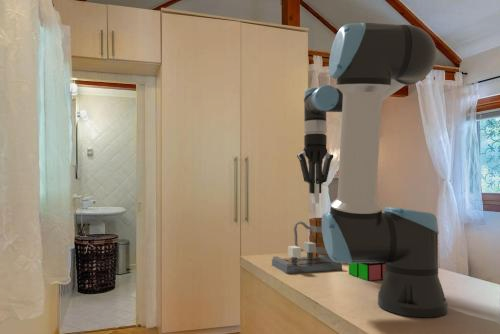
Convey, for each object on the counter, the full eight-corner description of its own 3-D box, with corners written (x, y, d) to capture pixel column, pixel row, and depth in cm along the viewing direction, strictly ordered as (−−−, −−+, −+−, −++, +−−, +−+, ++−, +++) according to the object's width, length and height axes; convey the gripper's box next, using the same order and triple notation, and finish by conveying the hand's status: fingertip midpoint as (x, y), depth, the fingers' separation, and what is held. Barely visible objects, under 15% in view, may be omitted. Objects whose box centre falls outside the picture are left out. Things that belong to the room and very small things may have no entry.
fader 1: (300, 264, 130) (300, 247, 130) (292, 264, 129) (293, 248, 130) (295, 261, 134) (295, 245, 135) (287, 262, 134) (287, 246, 134)
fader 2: (315, 259, 140) (315, 243, 140) (308, 259, 139) (308, 244, 139) (310, 256, 144) (310, 241, 144) (303, 257, 143) (303, 242, 143)
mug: (339, 254, 163) (339, 217, 164) (347, 260, 150) (347, 220, 150) (292, 253, 163) (292, 217, 164) (295, 260, 150) (295, 220, 150)
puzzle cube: (394, 278, 122) (394, 246, 122) (368, 281, 118) (368, 247, 119) (373, 271, 131) (373, 241, 132) (348, 274, 128) (348, 243, 128)
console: (342, 270, 133) (342, 261, 133) (286, 273, 127) (286, 264, 127) (322, 262, 146) (322, 253, 147) (271, 264, 141) (271, 256, 141)
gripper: (327, 136, 141) (327, 202, 140) (293, 134, 137) (293, 202, 136) (337, 133, 134) (338, 203, 133) (302, 131, 130) (302, 203, 129)
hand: (315, 203), depth 135 cm, fingers closed
